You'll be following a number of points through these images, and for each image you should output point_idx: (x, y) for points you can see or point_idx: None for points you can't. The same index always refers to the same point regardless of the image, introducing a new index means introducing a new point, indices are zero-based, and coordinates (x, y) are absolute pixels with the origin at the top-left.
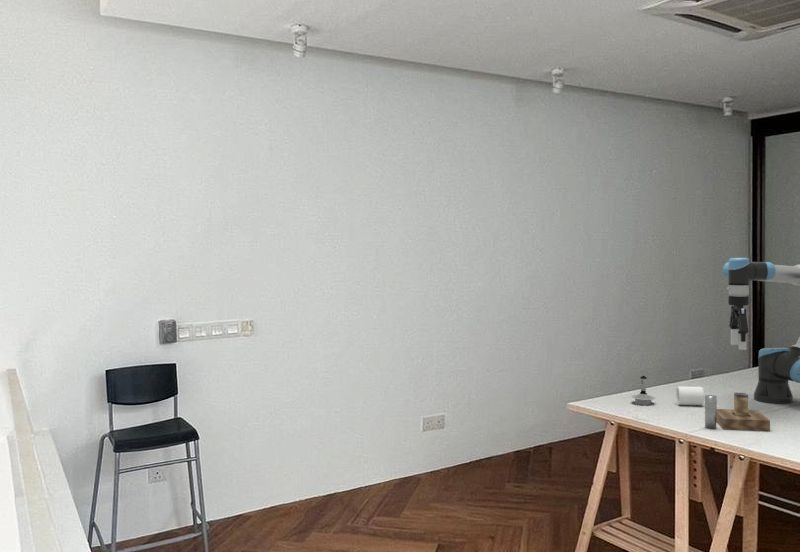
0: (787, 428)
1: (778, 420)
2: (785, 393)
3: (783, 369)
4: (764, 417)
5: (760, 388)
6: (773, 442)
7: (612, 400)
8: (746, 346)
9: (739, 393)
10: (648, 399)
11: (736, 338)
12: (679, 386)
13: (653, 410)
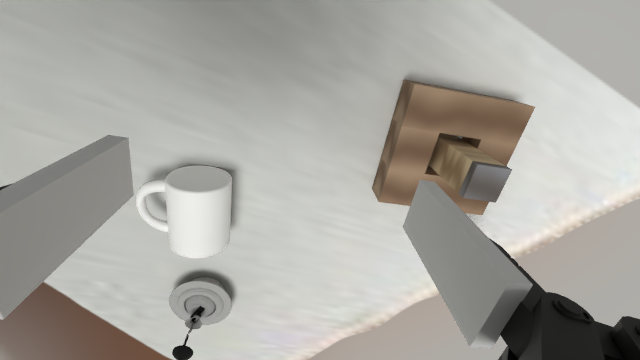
0: (502, 33)
1: (411, 9)
2: None
3: None
4: (500, 107)
5: None
6: (595, 138)
7: (183, 338)
8: (447, 195)
9: (481, 187)
10: (228, 299)
11: (89, 180)
12: (190, 254)
13: (281, 286)
